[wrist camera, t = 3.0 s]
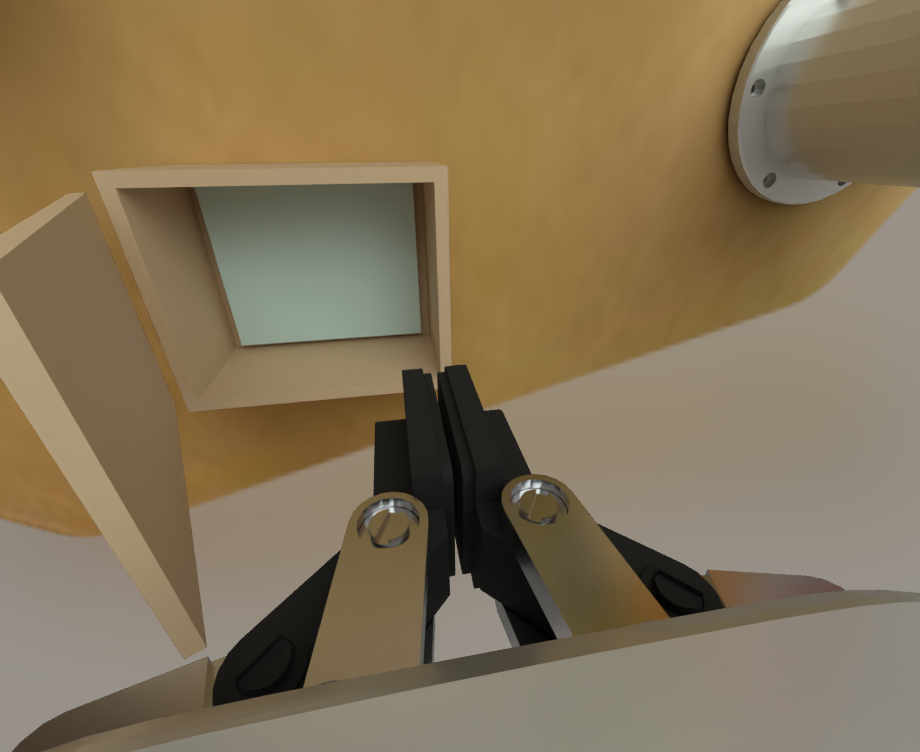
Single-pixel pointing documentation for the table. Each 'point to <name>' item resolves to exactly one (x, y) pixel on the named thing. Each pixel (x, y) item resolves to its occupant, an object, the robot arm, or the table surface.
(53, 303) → the lid
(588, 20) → the table surface
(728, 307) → the table surface
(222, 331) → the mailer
